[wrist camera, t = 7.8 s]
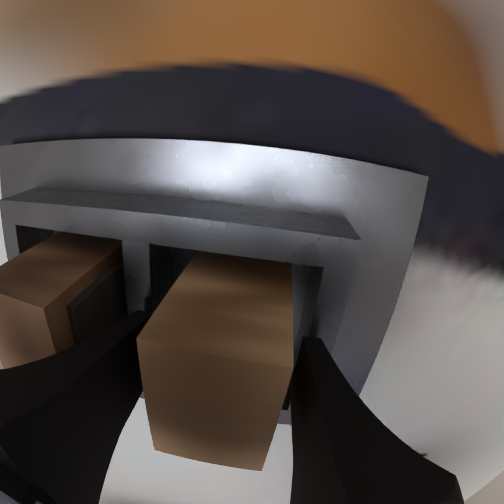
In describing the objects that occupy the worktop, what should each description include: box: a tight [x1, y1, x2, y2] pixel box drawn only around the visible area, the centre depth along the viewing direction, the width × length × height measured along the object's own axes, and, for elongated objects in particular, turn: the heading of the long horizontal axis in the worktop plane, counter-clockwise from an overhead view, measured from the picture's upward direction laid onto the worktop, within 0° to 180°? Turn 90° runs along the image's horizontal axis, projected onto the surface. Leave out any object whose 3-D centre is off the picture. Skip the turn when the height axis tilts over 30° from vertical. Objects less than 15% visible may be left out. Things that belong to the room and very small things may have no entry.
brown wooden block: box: [0, 231, 128, 369], centre depth 11 cm, size 4×5×6 cm
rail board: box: [0, 138, 429, 425], centre depth 12 cm, size 20×13×4 cm, turn 84°
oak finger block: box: [136, 251, 294, 471], centre depth 10 cm, size 4×5×6 cm
